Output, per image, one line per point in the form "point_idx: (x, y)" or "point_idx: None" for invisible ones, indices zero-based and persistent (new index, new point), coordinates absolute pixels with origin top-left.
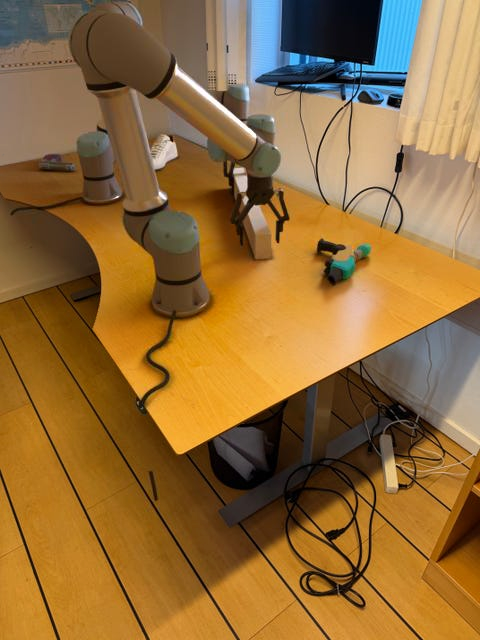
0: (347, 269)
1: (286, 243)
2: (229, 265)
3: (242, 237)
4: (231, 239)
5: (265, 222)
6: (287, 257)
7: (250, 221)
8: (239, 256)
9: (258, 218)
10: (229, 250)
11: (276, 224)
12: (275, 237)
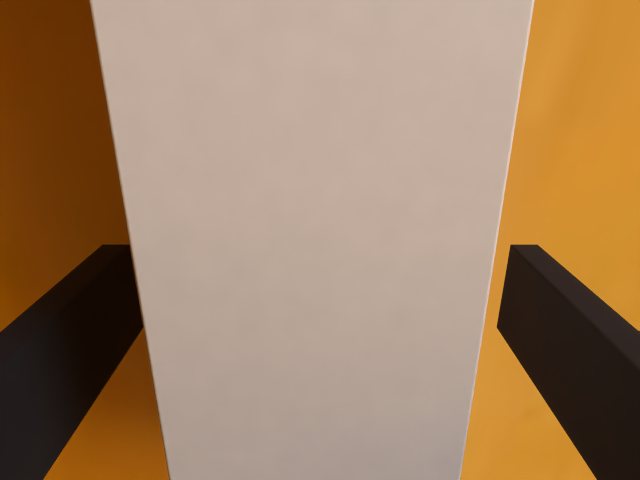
0: None
1: (607, 213)
2: (58, 477)
3: (93, 390)
4: (22, 15)
5: (443, 438)
6: (509, 436)
7: (149, 334)
8: (129, 375)
9: (341, 249)
10: (31, 267)
11: (625, 414)
12: (520, 258)
